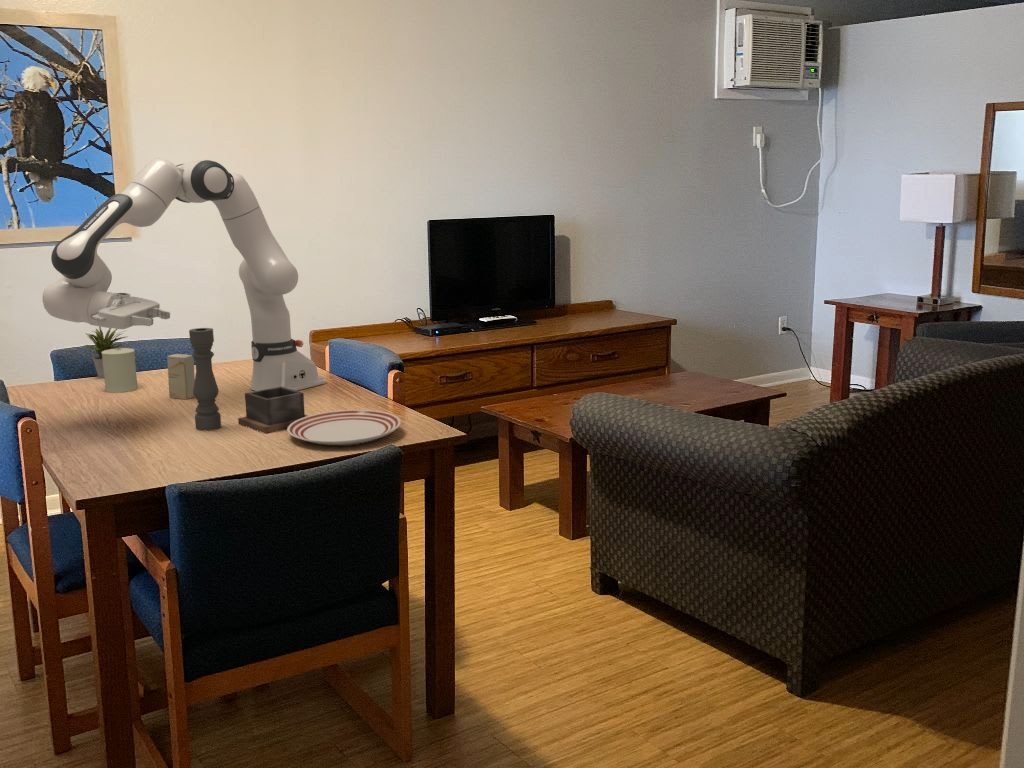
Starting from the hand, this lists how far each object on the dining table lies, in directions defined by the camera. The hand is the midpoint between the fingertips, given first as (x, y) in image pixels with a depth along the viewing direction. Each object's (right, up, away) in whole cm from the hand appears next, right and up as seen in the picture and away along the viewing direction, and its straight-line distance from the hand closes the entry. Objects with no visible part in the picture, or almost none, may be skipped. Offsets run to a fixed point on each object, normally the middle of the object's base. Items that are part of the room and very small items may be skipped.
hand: (160, 319), depth 251 cm
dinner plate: (+47, -29, -4) cm, 55 cm away
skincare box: (-6, -20, +36) cm, 42 cm away
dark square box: (+27, -26, +7) cm, 38 cm away
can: (-28, -18, +47) cm, 58 cm away
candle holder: (+11, -27, +4) cm, 30 cm away
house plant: (-39, -14, +64) cm, 76 cm away
